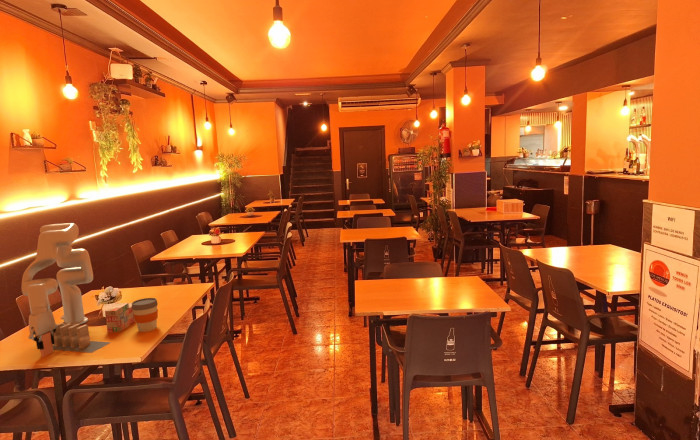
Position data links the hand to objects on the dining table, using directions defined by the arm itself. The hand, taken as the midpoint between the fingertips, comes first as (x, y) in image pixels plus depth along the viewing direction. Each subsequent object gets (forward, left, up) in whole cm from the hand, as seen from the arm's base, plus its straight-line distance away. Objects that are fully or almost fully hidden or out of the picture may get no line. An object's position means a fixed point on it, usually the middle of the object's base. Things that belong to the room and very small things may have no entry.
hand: (46, 346), depth 217 cm
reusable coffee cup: (+26, +37, -5) cm, 45 cm away
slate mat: (+7, +11, -4) cm, 14 cm away
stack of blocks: (+9, +40, -5) cm, 41 cm away
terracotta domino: (0, 0, -4) cm, 4 cm away
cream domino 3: (+6, +11, -4) cm, 13 cm away
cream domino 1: (-4, +11, -4) cm, 12 cm away
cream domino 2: (+1, +11, -4) cm, 12 cm away
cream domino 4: (+11, +11, -4) cm, 16 cm away
